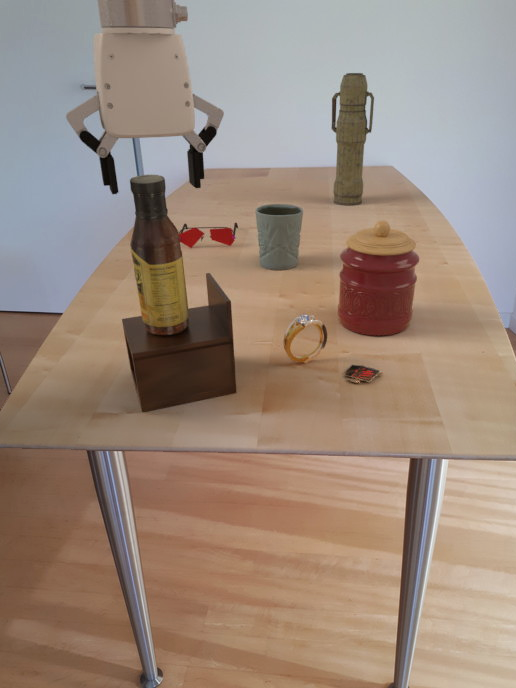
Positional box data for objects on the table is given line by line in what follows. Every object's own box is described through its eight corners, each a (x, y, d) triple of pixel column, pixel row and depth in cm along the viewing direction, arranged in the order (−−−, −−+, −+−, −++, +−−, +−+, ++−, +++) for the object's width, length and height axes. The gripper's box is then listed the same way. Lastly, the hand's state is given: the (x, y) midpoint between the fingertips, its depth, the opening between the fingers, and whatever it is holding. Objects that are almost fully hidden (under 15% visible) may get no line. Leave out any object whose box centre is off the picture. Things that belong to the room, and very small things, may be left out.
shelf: (142, 412, 73) (125, 317, 66) (131, 373, 82) (115, 285, 75) (236, 392, 77) (231, 301, 70) (216, 357, 86) (209, 272, 79)
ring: (288, 371, 82) (288, 323, 78) (280, 361, 84) (280, 314, 80) (330, 362, 84) (332, 315, 80) (321, 353, 87) (322, 306, 82)
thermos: (329, 197, 174) (334, 72, 156) (367, 199, 172) (376, 72, 154) (326, 204, 166) (331, 74, 148) (365, 206, 165) (375, 74, 147)
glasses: (178, 249, 131) (175, 228, 129) (186, 229, 146) (184, 210, 143) (236, 248, 132) (235, 227, 129) (238, 228, 146) (237, 209, 143)
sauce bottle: (150, 317, 77) (128, 171, 67) (193, 318, 77) (179, 171, 67) (138, 339, 72) (112, 182, 61) (185, 339, 72) (167, 182, 61)
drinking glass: (247, 263, 122) (245, 209, 116) (279, 252, 128) (279, 200, 122) (280, 274, 116) (279, 218, 110) (311, 262, 122) (312, 208, 116)
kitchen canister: (427, 326, 94) (441, 224, 85) (367, 344, 89) (375, 237, 80) (379, 300, 104) (388, 206, 95) (322, 315, 99) (326, 217, 90)
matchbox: (349, 365, 83) (349, 362, 83) (383, 370, 81) (383, 368, 81) (342, 381, 79) (342, 378, 79) (377, 386, 78) (377, 384, 77)
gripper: (209, 21, 62) (217, 178, 71) (47, 17, 57) (78, 187, 66) (228, 18, 56) (234, 190, 65) (48, 14, 51) (81, 201, 60)
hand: (155, 188), depth 65 cm, fingers open, 9 cm apart
